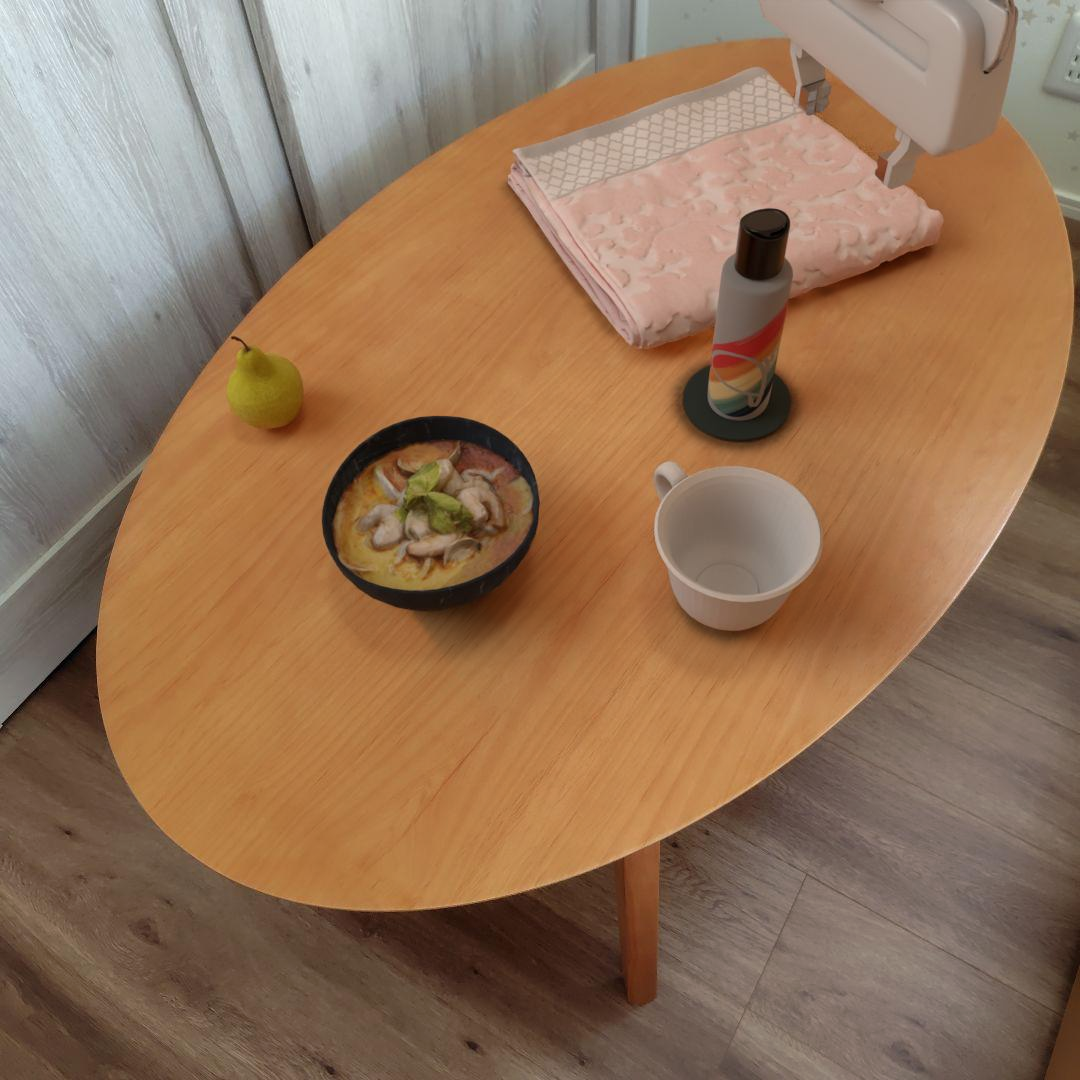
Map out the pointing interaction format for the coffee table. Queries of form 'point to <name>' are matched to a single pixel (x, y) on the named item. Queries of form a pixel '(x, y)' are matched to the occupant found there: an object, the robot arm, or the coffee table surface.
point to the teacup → (733, 542)
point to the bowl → (431, 513)
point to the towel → (709, 202)
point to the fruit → (264, 388)
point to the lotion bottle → (750, 316)
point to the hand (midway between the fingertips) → (849, 143)
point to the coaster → (731, 429)
